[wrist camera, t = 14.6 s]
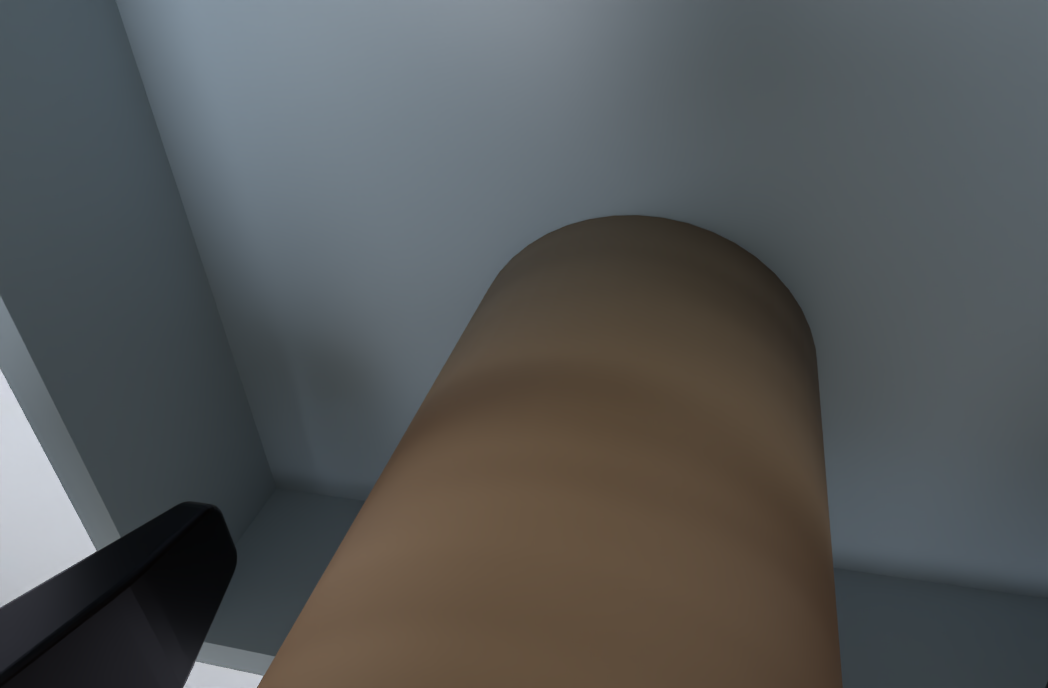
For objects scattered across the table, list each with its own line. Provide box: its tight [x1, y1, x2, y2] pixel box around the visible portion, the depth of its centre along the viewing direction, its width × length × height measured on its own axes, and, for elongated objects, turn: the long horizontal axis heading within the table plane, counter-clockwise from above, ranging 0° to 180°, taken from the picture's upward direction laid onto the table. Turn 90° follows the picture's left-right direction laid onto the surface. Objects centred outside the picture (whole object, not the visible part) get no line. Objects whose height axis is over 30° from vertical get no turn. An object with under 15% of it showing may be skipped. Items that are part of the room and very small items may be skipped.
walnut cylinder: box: [257, 215, 843, 688], centre depth 9 cm, size 5×5×7 cm
